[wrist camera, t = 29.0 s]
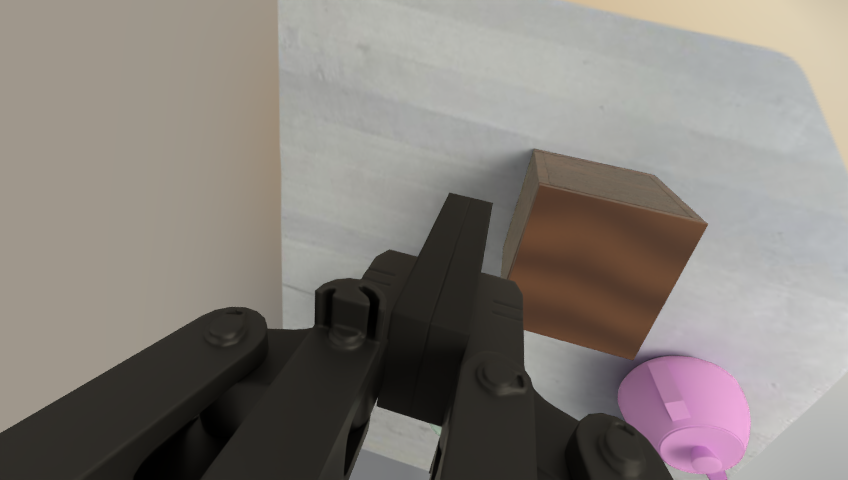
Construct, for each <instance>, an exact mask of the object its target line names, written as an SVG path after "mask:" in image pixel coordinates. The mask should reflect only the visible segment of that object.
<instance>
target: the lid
mask: <svg viewBox="0 0 848 480" xmlns="http://www.w3.org/2000/svg"><path fill="white" fill-rule="evenodd" d="M707 226H708V223H706V222H705V221H702V220H698V219H693V218H689V217H685V216H680V215H676V214H672V213H667V212H663V211H659V210H654V209H650V208H646V207H641V206H637V205H633V204H628V203H624V202H620V201H615V200H611V199H607V198H602V197H598V196H594V195H589V194H585V193H581V192H576V191H572V190H567V189H563V188H559V187H554V186H550V185H546V184H541V183H539V185H538V188H537V191H536V194H535V197H534V201H533V204H532V207H531V210H530V213H529V216H528V219H527V222H526V225H525V228H524V231H523V235H522V238H521V241H520V244H519V247H518V250H517V253H516V256H515V259H514V262H513V265H512V269H511V272H510V275H509V278H508V280H512V281H515V282H516V284H517V286H518V287H519V289H520V291H521V292H522V294H523V329H524V330H526V331H530V332H533V333H537V334H541V335H544V336H548V337H551V338H555V339H558V340H562V341H566V342H569V343H573V344H576V345H580V346H583V347H587V348H591V349H594V350H598V351H601V352H605V353H608V354H612V355H616V356H619V357H623V358H626V359H630V360H634V358H635V356H636V354H637V353H638V351H639V349H640V347H641V345H642V344H643V342H644V340H645V338H646V336H647V334H648V333H649V331H650V329H651V327H652V325H653V324H654V322H655V320H656V318H657V316H658V315H659V313H660V311H661V309H662V307H663V305H664V304H665V302H666V300H667V298H668V296H669V295H670V293H671V291H672V289H673V287H674V285H675V284H676V282H677V280H678V278H679V276H680V275H681V273H682V271H683V269H684V267H685V266H686V264H687V262H688V260H689V258H690V256H691V255H692V253H693V251H694V249H695V247H696V246H697V244H698V242H699V240H700V238H701V237H702V235H703V233H704V231H705V229H706V227H707Z"/></svg>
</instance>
